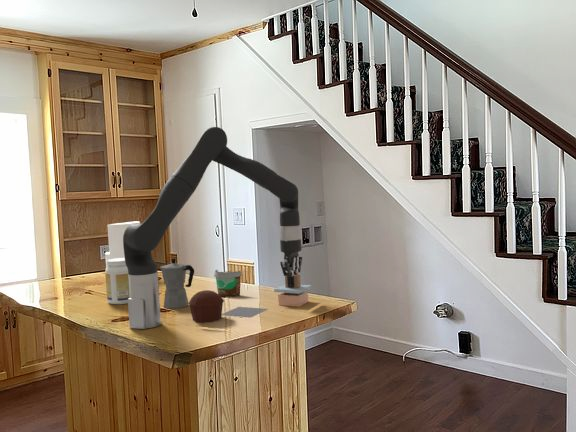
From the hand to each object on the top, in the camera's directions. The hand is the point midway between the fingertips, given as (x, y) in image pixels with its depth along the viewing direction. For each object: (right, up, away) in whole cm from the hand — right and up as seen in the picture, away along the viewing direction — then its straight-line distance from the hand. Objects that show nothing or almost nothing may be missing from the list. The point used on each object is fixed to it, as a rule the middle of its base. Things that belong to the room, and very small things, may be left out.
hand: (292, 286), depth 197 cm
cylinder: (-82, -6, +74) cm, 110 cm away
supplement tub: (-67, -9, +22) cm, 71 cm away
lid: (0, -1, 0) cm, 1 cm away
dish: (0, -7, +1) cm, 7 cm away
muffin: (-28, -10, -16) cm, 34 cm away
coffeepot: (-43, -9, +9) cm, 44 cm away
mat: (-17, -8, -9) cm, 21 cm away
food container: (-27, -7, +23) cm, 36 cm away
